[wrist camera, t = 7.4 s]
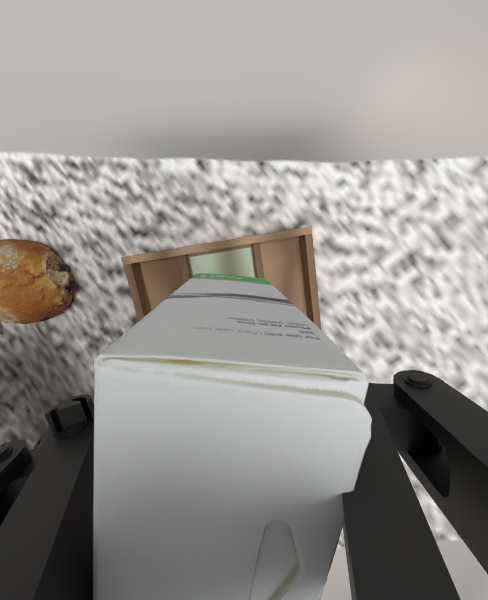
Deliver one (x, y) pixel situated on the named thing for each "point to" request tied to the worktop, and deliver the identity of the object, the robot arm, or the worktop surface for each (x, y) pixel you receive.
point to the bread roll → (32, 282)
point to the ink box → (223, 448)
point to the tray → (230, 268)
